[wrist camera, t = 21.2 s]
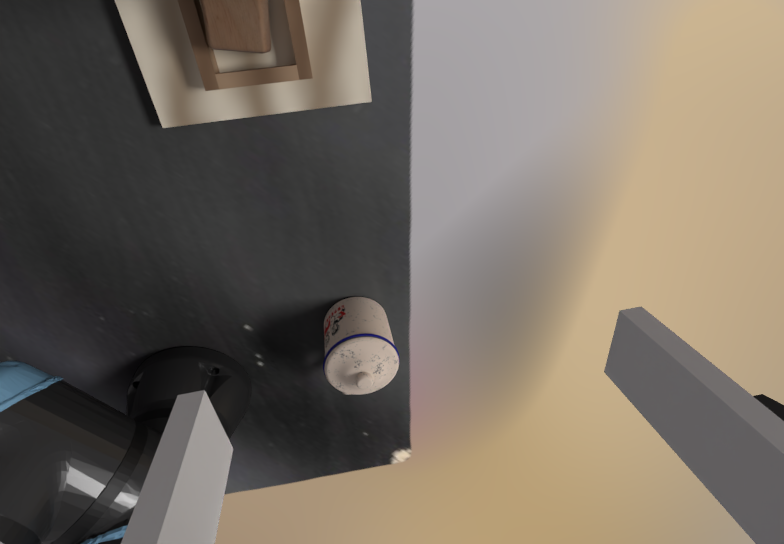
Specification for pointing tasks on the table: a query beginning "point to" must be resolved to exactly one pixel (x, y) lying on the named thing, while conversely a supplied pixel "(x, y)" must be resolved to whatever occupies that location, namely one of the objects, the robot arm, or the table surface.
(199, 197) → the table surface
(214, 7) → the wooden block
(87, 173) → the table surface
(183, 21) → the keyed plate
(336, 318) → the teacup with lid
